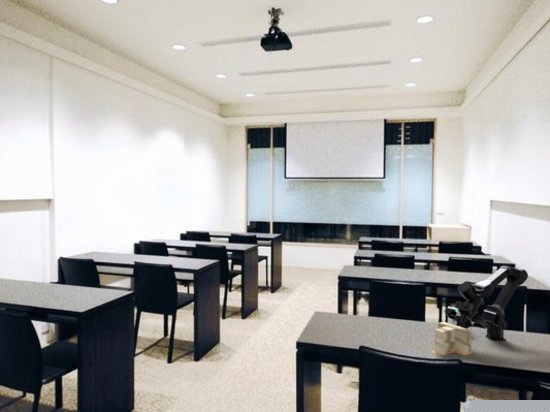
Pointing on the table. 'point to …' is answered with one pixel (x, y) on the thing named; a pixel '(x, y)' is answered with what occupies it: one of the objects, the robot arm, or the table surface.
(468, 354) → the t mark
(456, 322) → the light bulb box
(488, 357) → the table surface
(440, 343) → the beige stepped block
